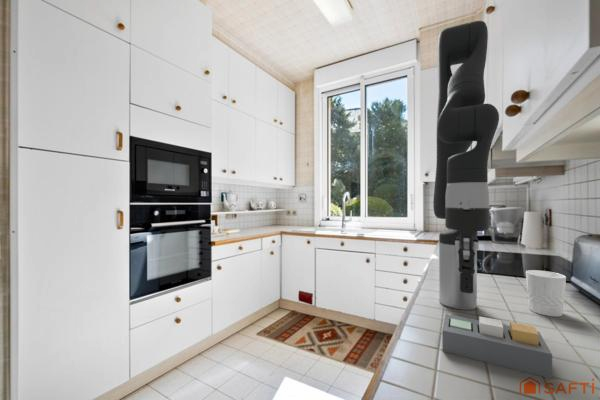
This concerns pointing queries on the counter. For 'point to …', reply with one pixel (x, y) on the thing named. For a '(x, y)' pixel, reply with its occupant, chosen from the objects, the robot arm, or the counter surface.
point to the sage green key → (460, 324)
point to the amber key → (524, 333)
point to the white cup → (545, 292)
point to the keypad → (497, 348)
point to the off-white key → (491, 327)
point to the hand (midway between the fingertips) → (466, 291)
